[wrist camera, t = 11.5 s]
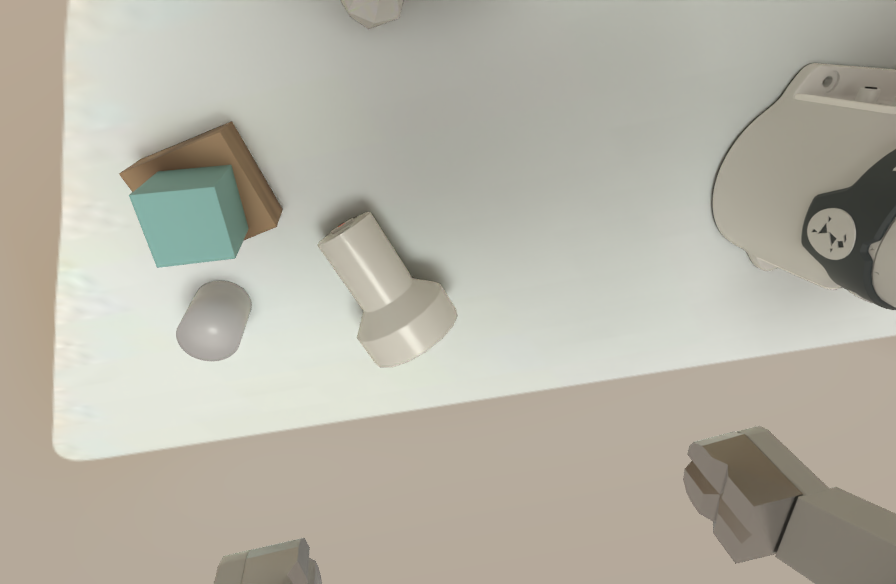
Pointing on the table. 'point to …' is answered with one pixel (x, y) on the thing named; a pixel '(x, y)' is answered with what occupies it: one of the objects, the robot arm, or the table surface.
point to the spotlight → (387, 293)
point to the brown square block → (216, 151)
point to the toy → (373, 11)
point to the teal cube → (191, 215)
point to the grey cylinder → (214, 321)
